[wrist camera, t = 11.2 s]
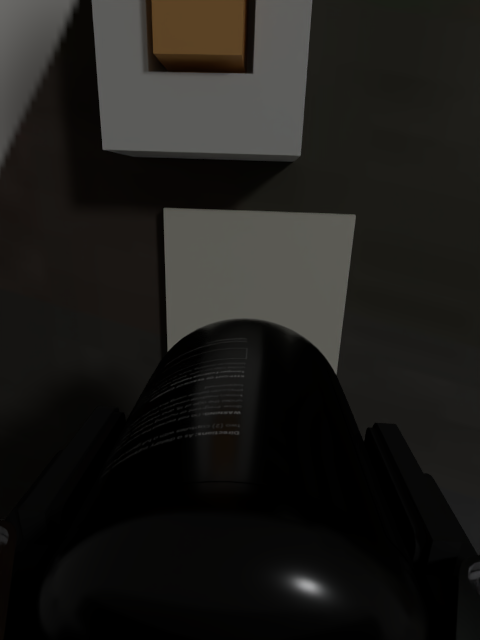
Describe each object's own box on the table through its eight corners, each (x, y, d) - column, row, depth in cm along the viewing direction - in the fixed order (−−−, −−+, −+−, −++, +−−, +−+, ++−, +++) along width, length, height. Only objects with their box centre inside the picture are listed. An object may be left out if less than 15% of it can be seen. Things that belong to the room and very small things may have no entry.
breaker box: (293, 161, 24) (301, 154, 19) (133, 156, 25) (99, 148, 20) (310, -87, 20) (326, -179, 15) (121, -88, 21) (74, -177, 16)
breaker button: (246, 80, 22) (242, 55, 18) (174, 78, 22) (153, 53, 18) (249, -8, 20) (245, -58, 16) (172, -9, 21) (149, -58, 16)
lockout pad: (332, 383, 29) (334, 388, 28) (170, 374, 29) (168, 379, 29) (352, 214, 25) (355, 215, 24) (166, 207, 26) (163, 208, 25)
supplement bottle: (146, 462, 15) (-183, 1226, 4) (162, 297, 13) (-453, 960, 2) (319, 492, 15) (469, 1344, 4) (364, 331, 13) (977, 1221, 2)
